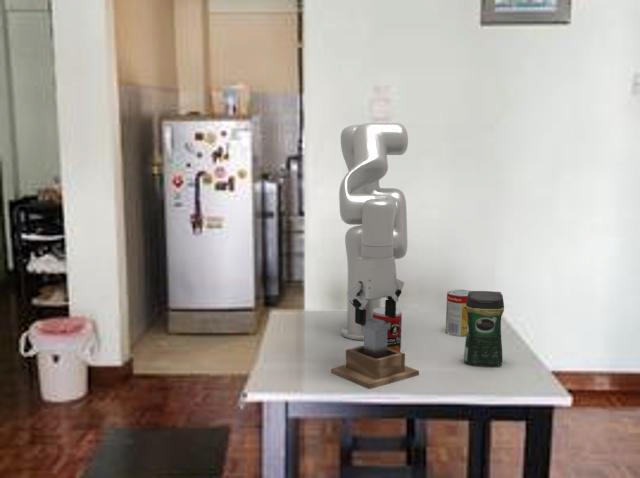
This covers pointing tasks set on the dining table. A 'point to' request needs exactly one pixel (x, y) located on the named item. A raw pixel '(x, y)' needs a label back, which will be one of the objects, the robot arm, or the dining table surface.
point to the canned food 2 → (456, 312)
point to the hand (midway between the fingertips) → (375, 320)
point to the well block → (374, 368)
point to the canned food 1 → (395, 329)
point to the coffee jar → (484, 328)
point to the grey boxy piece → (375, 337)
